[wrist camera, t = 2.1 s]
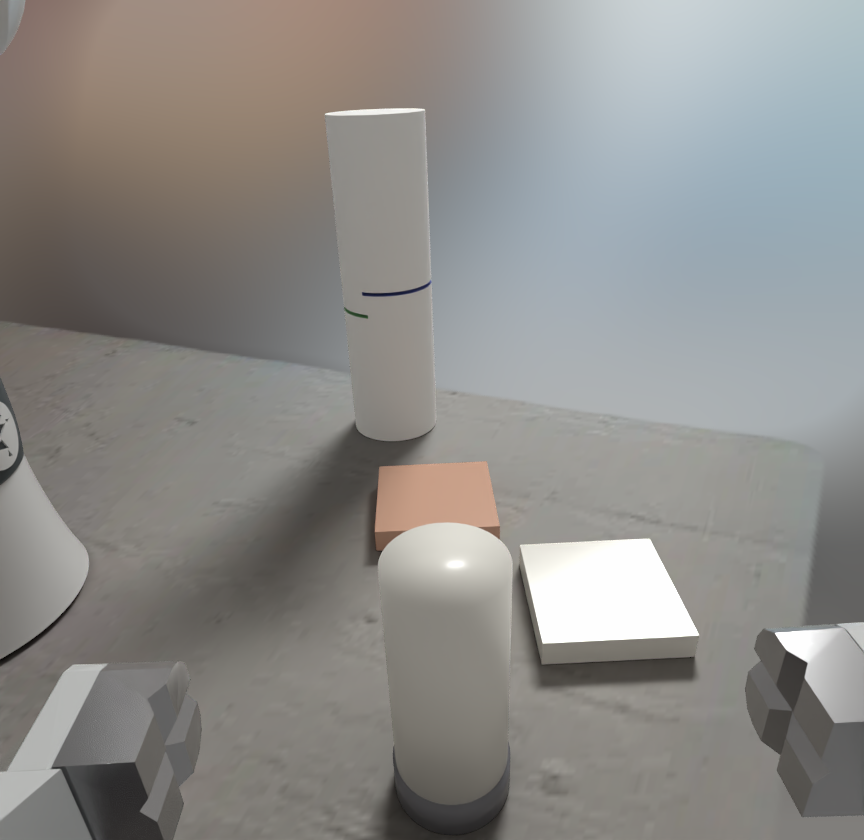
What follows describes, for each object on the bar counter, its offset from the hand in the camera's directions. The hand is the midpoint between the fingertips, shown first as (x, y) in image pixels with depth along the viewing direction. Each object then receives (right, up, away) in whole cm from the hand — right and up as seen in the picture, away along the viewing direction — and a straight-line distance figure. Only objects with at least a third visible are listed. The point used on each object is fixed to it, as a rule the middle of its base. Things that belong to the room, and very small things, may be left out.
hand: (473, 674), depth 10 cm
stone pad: (+9, -7, +29) cm, 31 cm away
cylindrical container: (-4, +3, +50) cm, 50 cm away
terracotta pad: (0, -3, +38) cm, 38 cm away
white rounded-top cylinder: (0, -12, +20) cm, 23 cm away
